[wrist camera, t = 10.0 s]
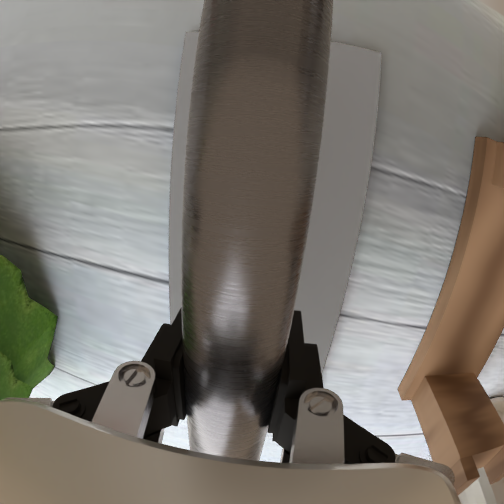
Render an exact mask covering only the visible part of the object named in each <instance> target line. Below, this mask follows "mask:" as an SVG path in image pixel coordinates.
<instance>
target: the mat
mask: <svg viewBox="0 0 504 504" xmlns="http://www.w3.org/2000/svg"><path fill="white" fill-rule="evenodd" d="M198 36H199V31H196V32H186V34H185V40H184V46H183V53H182V60H181V68H180V75H179V83H178V92H177V101H176V111H175V122H174V134H173V147H172V162H171V180H170V206H169V299H170V324H171V325H172V323H173V321H174V319H175V317H176V316H177V314H178V312H179V310H180V308H181V307H182V306H181V250H182V212H183V190H184V171H185V156H186V143H187V130H188V119H189V109H190V99H191V90H192V81H193V73H194V65H195V57H196V50H197V43H198ZM381 57H382V53H381V52H378V51H374V50H370V49H366V48H362V47H358V46H353V45H348V44H344V43H339V42H333V41H331V44H330V58H329V70H328V81H327V92H326V102H325V111H324V120H323V129H322V138H321V146H320V154H319V162H318V169H317V177H316V184H315V191H314V198H313V204H312V211H311V217H310V224H309V230H308V236H307V242H306V248H305V254H304V260H303V266H302V271H301V277H300V282H299V288H298V293H297V298H296V303H295V309H294V310H298V311H301V315H302V324H303V334H304V343H310V344H317V347H318V353H319V359H320V366H321V374H322V371H323V368H324V365H325V362H326V359H327V356H328V352H329V349H330V346H331V342H332V339H333V336H334V332H335V329H336V325H337V322H338V318H339V315H340V311H341V307H342V304H343V300H344V296H345V292H346V288H347V284H348V280H349V276H350V272H351V268H352V263H353V259H354V255H355V250H356V245H357V241H358V236H359V231H360V226H361V221H362V216H363V211H364V205H365V200H366V194H367V188H368V182H369V175H370V169H371V162H372V155H373V148H374V140H375V131H376V122H377V113H378V102H379V90H380V76H381Z"/></svg>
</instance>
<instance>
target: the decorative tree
mask: <svg viewBox="0 0 504 504" xmlns="http://www.w3.org/2000/svg"><path fill="white" fill-rule="evenodd" d="M57 319H58V316H56V315H55V314H54V313H52V312H51V311H50V310H48V309H47V308H46V307H44V306H42V305H40V304H39V303H37V302H35V301H34V300H32V299H30V298H29V297H28V294H27V290H26V287H25V284H24V280H23V277H22V273H21V270H20V269H19V268H17V267H16V266H15V265H14V264H13V263H11V262H10V261H9V260H8V259H7V258H5V257H4V256H3V255H0V400H3V399H5V398H10V397H15V398H29V396H30V394H31V392H32V389H33V388H34V387H35V386H36V385H37V384H39V383H40V382H41V381H42V380H43V379H44V378H46V377H47V376H48V375H49V374H50V373H51V372H52V370H53V369H54V367H55V366H54V365H52V364H51V363H50V362H49V360H48V359H47V358H48V354H49V351H50V347H51V344H52V341H53V337H54V332H55V328H56V323H57Z"/></svg>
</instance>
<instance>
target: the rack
mask: <svg viewBox="0 0 504 504" xmlns="http://www.w3.org/2000/svg"><path fill="white" fill-rule="evenodd" d="M503 328H504V142H496V141H494V140H492V139H490V138H487V137H475V145H474V154H473V161H472V168H471V175H470V181H469V187H468V192H467V197H466V202H465V207H464V212H463V216H462V220H461V225H460V229H459V233H458V237H457V240H456V244H455V248H454V251H453V255H452V258H451V261H450V265H449V268H448V271H447V274H446V277H445V280H444V283H443V286H442V289H441V292H440V295H439V298H438V300H437V303H436V306H435V308H434V311H433V314H432V316H431V319H430V321H429V324H428V326H427V328H426V331H425V333H424V335H423V338H422V340H421V342H420V345H419V347H418V349H417V351H416V353H415V355H414V358H413V360H412V362H411V364H410V366H409V368H408V370H407V372H406V374H405V376H404V378H403V380H402V382H401V384H400V386H399V387H398V391H399V394H400V397H401V400H411V401H412V404H413V406H414V409H415V411H416V414H417V417H418V420H419V422H420V425H421V428H422V431H423V433H424V436H425V439H426V442H427V445H428V448H429V451H430V454H431V457H432V460H433V462H436V463H440V464H444V465H446V466H448V467H449V468H451V469H452V471H453V473H454V475H455V482H454V488H455V490H456V492H457V495H459V494H460V493H462V492H463V491H464V490H465V489H467V488H468V487H469V486H470V485H471V484H472V483H473V482H475V481H476V480H477V479H478V478H479V477H480V475H479V472H478V470H477V469H479V468H482V467H484V470H485V472H486V475H487V477H488V480H489V483H490V485H491V484H493V483H495V482H498V481H500V480H501V479H502V478H503V477H504V423H503V422H502V420H501V418H500V416H499V414H498V413H497V411H496V409H495V407H494V405H493V404H492V402H491V400H490V399H489V397H488V395H487V394H486V392H485V390H484V389H483V387H482V385H481V384H480V382H479V380H478V379H477V377H478V375H479V374H480V372H481V370H482V368H483V367H484V365H485V363H486V361H487V360H488V358H489V356H490V354H491V352H492V350H493V348H494V347H495V345H496V343H497V341H498V339H499V337H500V335H501V333H502V330H503Z"/></svg>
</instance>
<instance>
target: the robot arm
mask: <svg viewBox="0 0 504 504" xmlns="http://www.w3.org/2000/svg"><path fill="white" fill-rule="evenodd" d="M490 400H491V402H492V404H493V405H494V407H495V409H496V411H497V413H498V414H499V416H500V418H501V420H502V422H503V423H504V397H496V398H492V399H490ZM186 414H187V412H186V399H185V384H184V366H183V344H182V307H181V308H180V310H179V312H178V314H177V316H176V317H175V319H174V321H173V323H172V325H170V324H165V323H164V324H163V325H162V326H161V328H160V330H159V331H158V333H157V335H156V336H155V338H154V340H153V342H152V343H151V345H150V347H149V349H148V350H147V352H146V354H145V356H144V357H143V359H142V361H129V362H126V363H123V364H121V365H120V366H118V367H117V369H116V370H115V371H114V373H113V376H112V378H111V380H110V381H109V382H106V383H102V384H99V385H96V386H92V387H89V388H85V389H82V390H78V391H74V392H71V393H67V394H64V395H62V396H60V397H59V398H57V399H56V400H55V401H52V399H51V398H15V397H10V398H5V399H3V400H0V504H504V477H503V478H502V479H501V480H500V481H498V482H495V483H493V484H491V485H490V483H489V480H488V477H487V475H486V472H485V470H484V467H482V468H479V469H477V470H478V472H479V475H480V477H479V478H478V479H477V480H476V481H475V482H473V483H472V484H471V485H470V486H469V487H468V488H467V489H465V490H464V491H463V492H462V493H460V494H459V495H457V492H456V490H455V488H454V482H455V475H454V473H453V471H452V469H451V468H449V467H448V466H446V465H444V464H440V463H436V462H433V461H429V460H425V459H422V458H418V457H415V456H411V455H408V454H405V453H401V454H400V455H397V454H395V453H394V451H393V449H392V448H391V447H390V446H389V445H388V444H387V443H385V442H384V441H382V440H380V439H379V438H377V437H376V436H374V435H373V434H371V433H370V432H368V431H367V430H365V429H364V428H362V427H361V426H359V425H358V424H356V423H355V422H353V421H352V420H350V419H349V418H347V417H346V416H345V415H343V404H342V400H341V399H340V398H339V396H338V395H337V394H335V393H334V392H332V391H330V390H328V389H324V388H323V381H322V374H321V366H320V359H319V353H318V347H317V344H310V343H304V334H303V324H302V315H301V311H298V310H294V314H293V319H292V324H291V329H290V333H289V338H288V343H287V348H286V352H285V357H284V362H283V365H282V369H281V373H280V378H279V382H278V386H277V391H276V395H275V399H274V403H273V408H272V412H271V416H270V420H269V424H268V433H273V441H276V442H277V443H278V444H279V445H280V446H281V447H282V448H283V449H282V455H281V461H280V463H277V462H265V461H255V460H246V459H238V458H231V457H224V456H218V455H212V454H206V453H201V452H195V451H191V450H186V449H181V448H177V447H172V446H168V445H164V444H161V443H162V439H163V435H164V428H166V427H169V426H171V425H174V426H178V423H179V420H180V419H182V420H184V419H185V417H186ZM430 455H431V454H430ZM431 458H432V457H431Z"/></svg>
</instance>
